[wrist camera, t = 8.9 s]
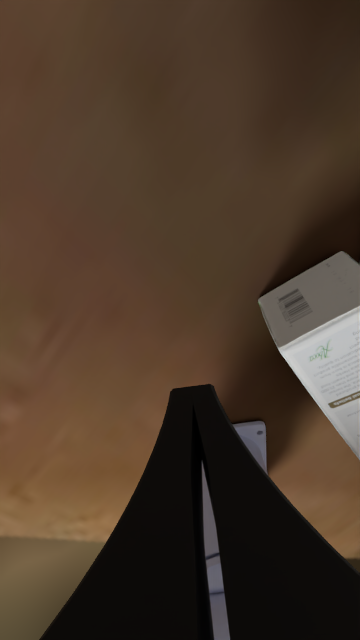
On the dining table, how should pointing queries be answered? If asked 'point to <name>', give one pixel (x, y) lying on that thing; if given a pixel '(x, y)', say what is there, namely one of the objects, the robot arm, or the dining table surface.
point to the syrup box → (323, 337)
